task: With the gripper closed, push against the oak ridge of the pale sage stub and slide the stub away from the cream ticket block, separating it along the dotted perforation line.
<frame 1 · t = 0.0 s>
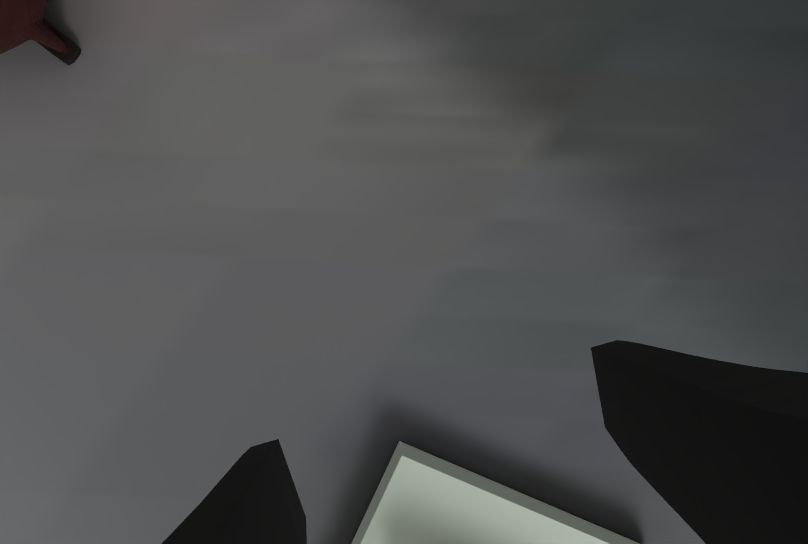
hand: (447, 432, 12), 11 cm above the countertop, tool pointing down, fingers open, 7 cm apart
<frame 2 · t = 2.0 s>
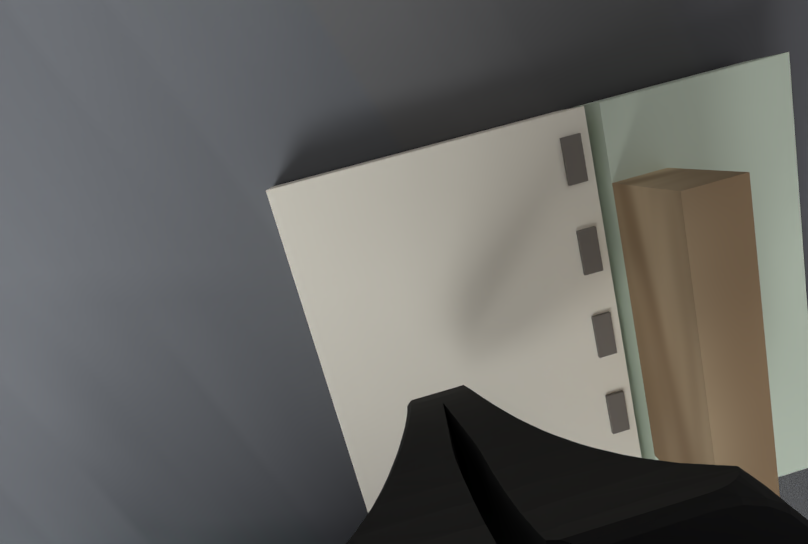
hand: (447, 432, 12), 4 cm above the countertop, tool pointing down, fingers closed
ticket block: (467, 349, 16), on the countertop
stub: (738, 310, 14), point 2 cm above the countertop, slide at 0.0 cm
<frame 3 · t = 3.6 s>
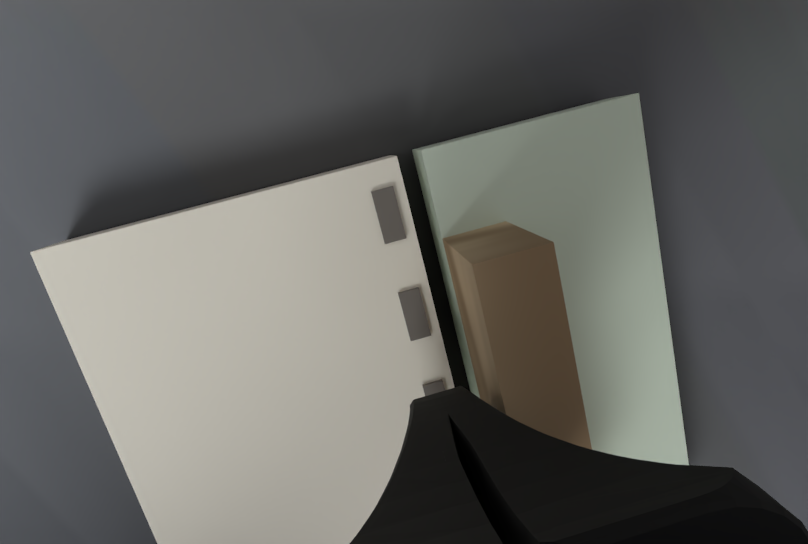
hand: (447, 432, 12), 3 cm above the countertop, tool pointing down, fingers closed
ticket block: (302, 414, 15), on the countertop
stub: (588, 378, 13), point 2 cm above the countertop, slide at 0.2 cm, touching gripper
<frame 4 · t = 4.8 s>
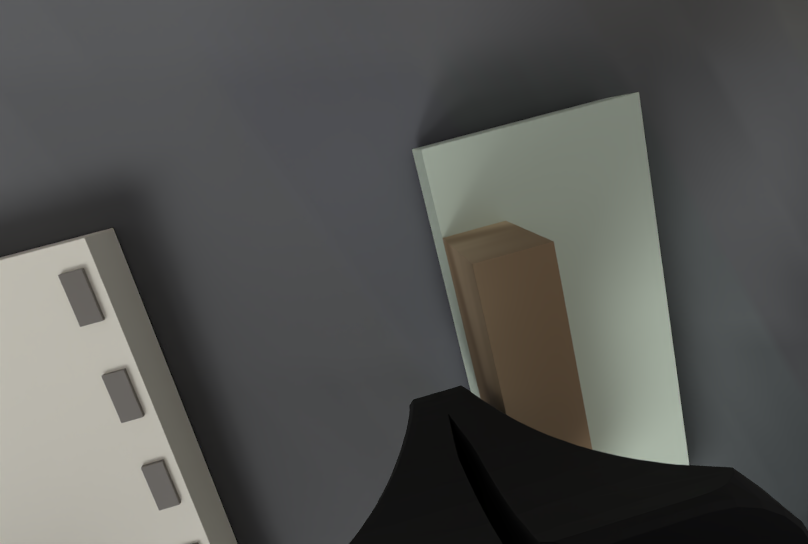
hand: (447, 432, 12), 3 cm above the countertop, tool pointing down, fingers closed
ticket block: (47, 487, 14), on the countertop
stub: (588, 377, 13), point 2 cm above the countertop, slide at 7.1 cm, touching gripper
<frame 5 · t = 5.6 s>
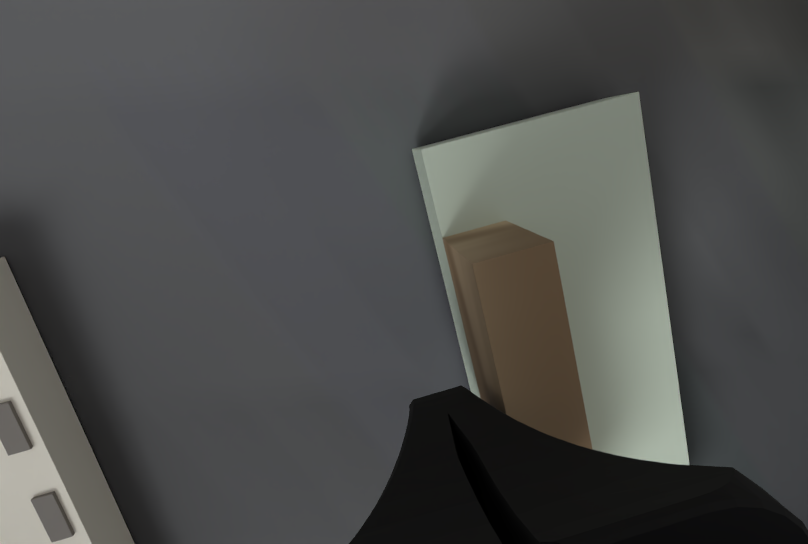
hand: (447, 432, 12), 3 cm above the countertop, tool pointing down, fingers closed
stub: (589, 377, 13), point 2 cm above the countertop, slide at 9.6 cm, touching gripper
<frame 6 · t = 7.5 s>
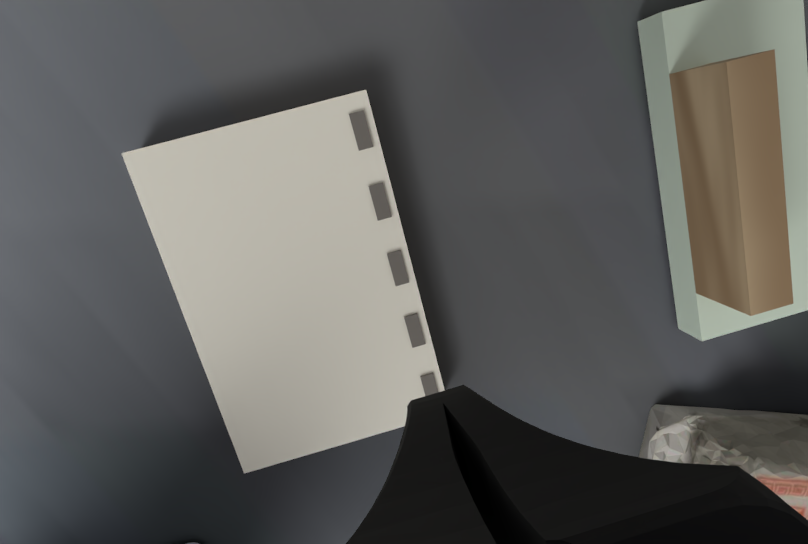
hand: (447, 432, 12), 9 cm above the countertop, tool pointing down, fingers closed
ticket block: (303, 284, 20), on the countertop
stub: (762, 172, 19), point 2 cm above the countertop, slide at 9.8 cm
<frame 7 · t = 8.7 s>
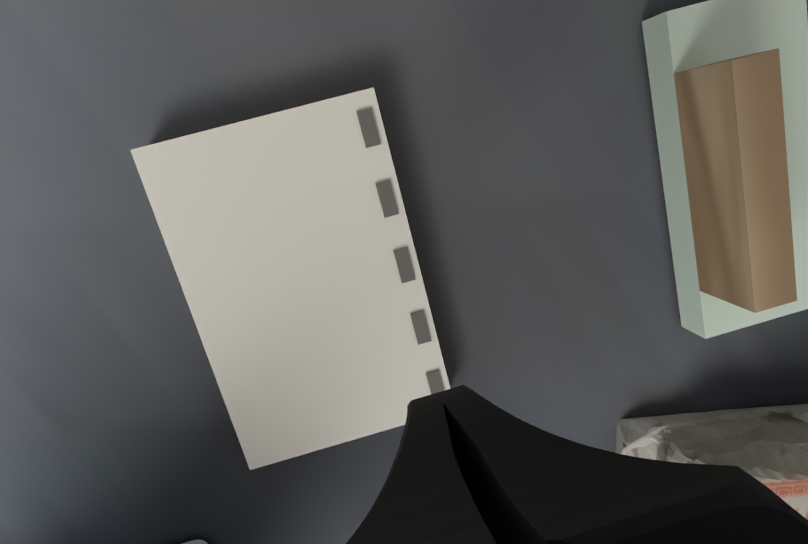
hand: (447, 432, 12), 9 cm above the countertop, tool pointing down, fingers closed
ticket block: (309, 281, 20), on the countertop
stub: (765, 170, 19), point 2 cm above the countertop, slide at 9.8 cm
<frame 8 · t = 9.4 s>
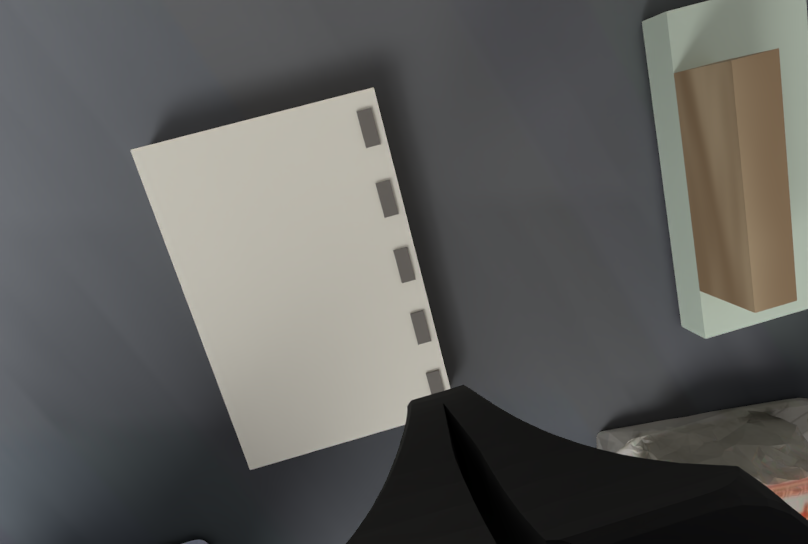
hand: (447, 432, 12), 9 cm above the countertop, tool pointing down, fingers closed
ticket block: (309, 281, 20), on the countertop
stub: (765, 170, 19), point 2 cm above the countertop, slide at 9.8 cm
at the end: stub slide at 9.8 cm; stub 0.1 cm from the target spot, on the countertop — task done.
